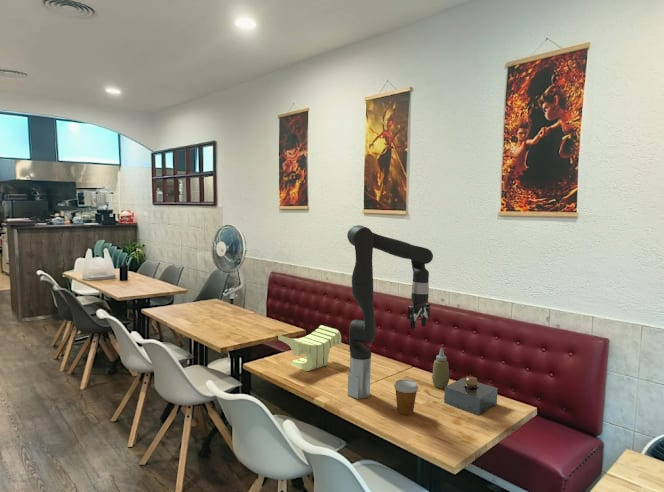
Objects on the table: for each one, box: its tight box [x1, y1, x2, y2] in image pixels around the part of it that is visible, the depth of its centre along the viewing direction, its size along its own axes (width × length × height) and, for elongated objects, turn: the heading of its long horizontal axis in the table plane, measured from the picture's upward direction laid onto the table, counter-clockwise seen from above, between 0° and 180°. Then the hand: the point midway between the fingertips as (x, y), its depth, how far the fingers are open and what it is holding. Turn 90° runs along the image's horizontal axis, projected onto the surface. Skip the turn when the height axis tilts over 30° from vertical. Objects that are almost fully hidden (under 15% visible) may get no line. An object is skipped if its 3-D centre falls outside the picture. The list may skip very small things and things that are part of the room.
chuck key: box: [465, 375, 478, 391], centre depth 186 cm, size 5×5×11 cm
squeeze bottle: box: [431, 348, 450, 389], centre depth 204 cm, size 8×8×18 cm
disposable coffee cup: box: [393, 378, 419, 416], centre depth 176 cm, size 10×10×12 cm
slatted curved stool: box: [277, 324, 342, 372], centre depth 228 cm, size 30×16×18 cm, turn 135°
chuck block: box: [443, 377, 499, 416], centre depth 186 cm, size 16×16×7 cm
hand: (418, 327), depth 196 cm, fingers open, 8 cm apart
